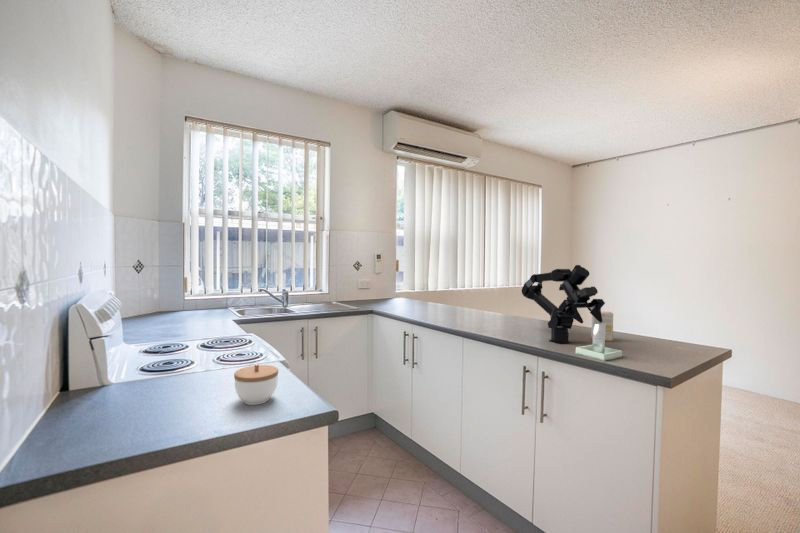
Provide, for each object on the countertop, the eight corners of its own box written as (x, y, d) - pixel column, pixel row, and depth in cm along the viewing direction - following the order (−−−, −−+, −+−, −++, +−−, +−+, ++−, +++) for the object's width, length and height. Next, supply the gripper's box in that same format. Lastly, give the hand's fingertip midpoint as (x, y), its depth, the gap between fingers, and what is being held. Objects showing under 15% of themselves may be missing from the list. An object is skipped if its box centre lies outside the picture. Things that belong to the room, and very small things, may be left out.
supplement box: (610, 339, 172) (611, 311, 171) (612, 341, 167) (613, 313, 167) (590, 337, 174) (591, 310, 174) (592, 340, 170) (593, 312, 169)
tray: (575, 353, 146) (575, 347, 146) (593, 350, 151) (593, 344, 151) (603, 361, 136) (604, 354, 135) (622, 357, 141) (622, 350, 141)
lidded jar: (246, 412, 88) (246, 374, 88) (226, 400, 95) (226, 364, 95) (286, 400, 96) (286, 364, 96) (265, 389, 103) (265, 356, 103)
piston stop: (589, 352, 146) (590, 322, 145) (600, 352, 146) (601, 322, 145) (596, 355, 141) (597, 324, 141) (607, 355, 141) (608, 324, 141)
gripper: (564, 279, 149) (583, 311, 138) (602, 279, 154) (623, 309, 143) (551, 296, 157) (568, 327, 146) (587, 296, 161) (606, 325, 151)
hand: (592, 322), depth 147 cm, fingers open, 9 cm apart
